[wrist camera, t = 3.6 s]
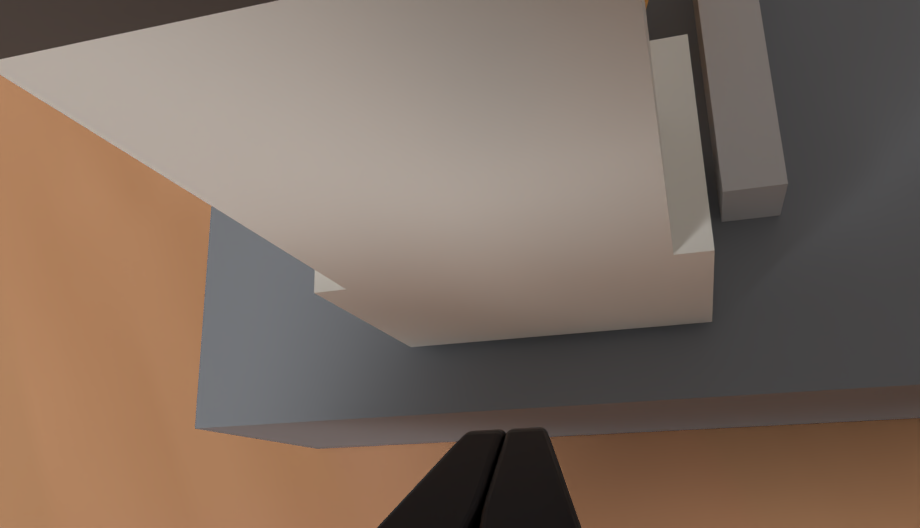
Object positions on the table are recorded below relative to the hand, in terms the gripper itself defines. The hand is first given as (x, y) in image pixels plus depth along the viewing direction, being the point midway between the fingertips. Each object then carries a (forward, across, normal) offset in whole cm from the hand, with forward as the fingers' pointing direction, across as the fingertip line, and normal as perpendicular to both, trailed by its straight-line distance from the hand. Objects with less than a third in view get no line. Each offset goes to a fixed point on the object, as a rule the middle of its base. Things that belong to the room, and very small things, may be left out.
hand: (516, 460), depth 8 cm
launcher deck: (+10, 0, +1) cm, 10 cm away
